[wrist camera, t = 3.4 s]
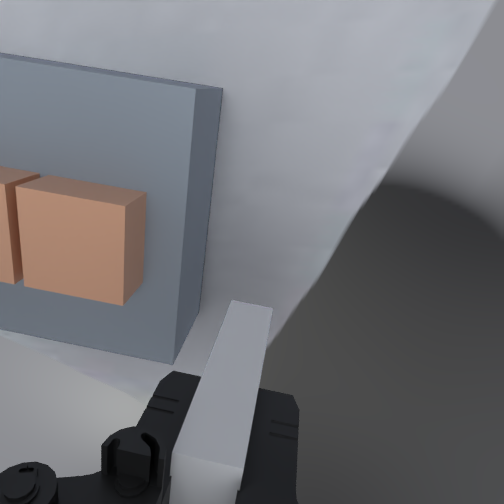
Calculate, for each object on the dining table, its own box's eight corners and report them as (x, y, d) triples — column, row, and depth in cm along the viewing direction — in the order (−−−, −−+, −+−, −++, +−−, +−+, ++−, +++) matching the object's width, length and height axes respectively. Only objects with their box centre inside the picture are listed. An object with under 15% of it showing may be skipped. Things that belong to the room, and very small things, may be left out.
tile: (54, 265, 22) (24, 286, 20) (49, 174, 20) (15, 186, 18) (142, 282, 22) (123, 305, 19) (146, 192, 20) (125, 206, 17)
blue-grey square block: (14, 275, 30) (-53, 318, 24) (-8, 51, 24) (-103, 41, 19) (198, 311, 29) (172, 364, 24) (222, 88, 23) (195, 89, 18)
